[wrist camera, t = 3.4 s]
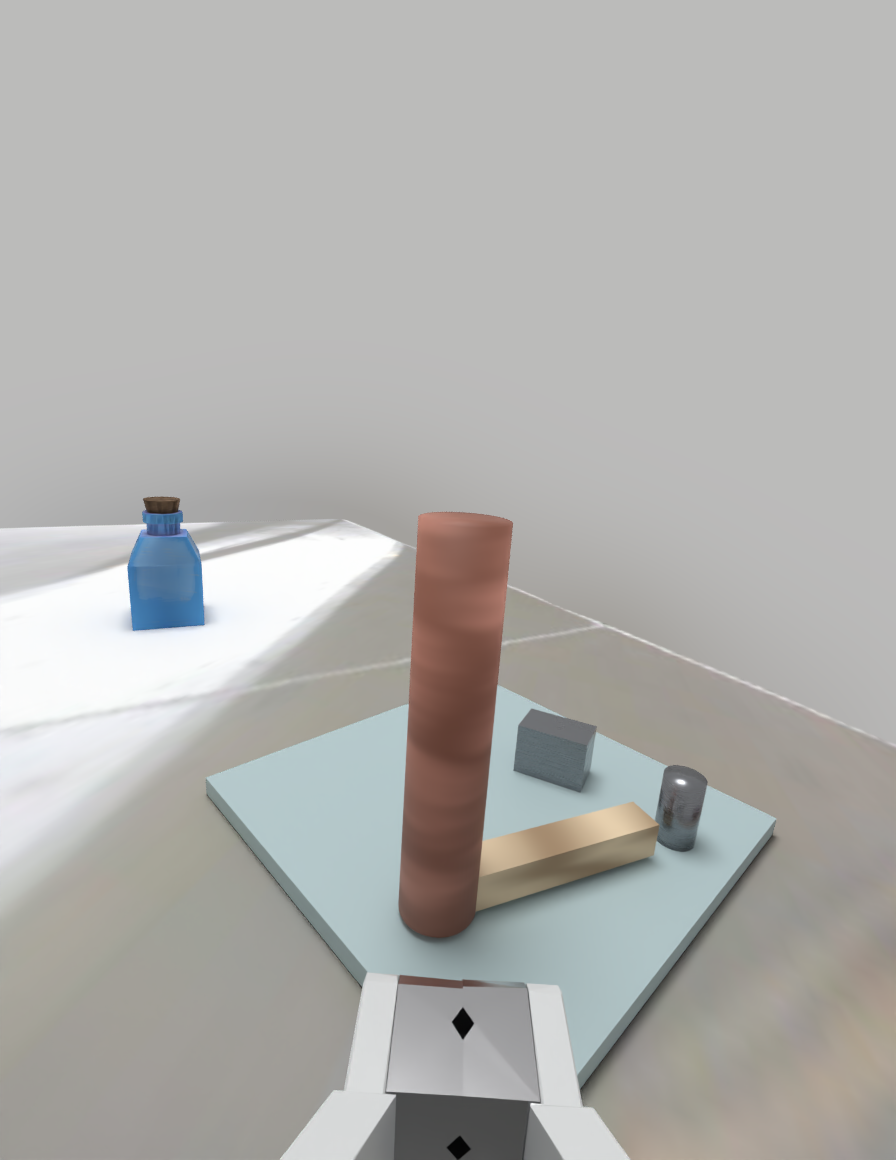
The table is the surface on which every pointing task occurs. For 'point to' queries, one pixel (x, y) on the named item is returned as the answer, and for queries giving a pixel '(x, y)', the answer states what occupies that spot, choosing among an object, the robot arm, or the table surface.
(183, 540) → the perfume bottle
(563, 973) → the board
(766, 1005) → the table surface
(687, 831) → the hinge pin
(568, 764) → the block
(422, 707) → the brown piece
